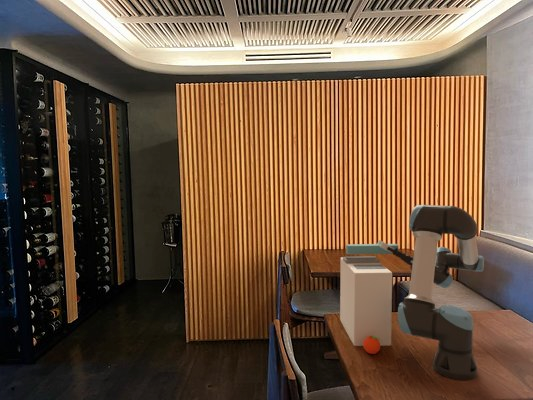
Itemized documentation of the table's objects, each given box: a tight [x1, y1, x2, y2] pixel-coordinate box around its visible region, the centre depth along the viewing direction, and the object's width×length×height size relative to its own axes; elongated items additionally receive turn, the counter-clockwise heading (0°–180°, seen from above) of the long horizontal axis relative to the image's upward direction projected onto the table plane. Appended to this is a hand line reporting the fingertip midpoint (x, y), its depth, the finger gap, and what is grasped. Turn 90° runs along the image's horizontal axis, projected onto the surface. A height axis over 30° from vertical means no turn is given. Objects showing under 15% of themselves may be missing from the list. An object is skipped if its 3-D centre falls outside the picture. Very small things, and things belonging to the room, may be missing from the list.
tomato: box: [362, 336, 381, 355], centre depth 167 cm, size 8×7×7 cm
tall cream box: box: [339, 256, 393, 347], centre depth 188 cm, size 16×30×34 cm, turn 1°
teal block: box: [345, 243, 399, 255], centre depth 192 cm, size 24×4×4 cm, turn 91°
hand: (379, 243), depth 192 cm, fingers closed on teal block, 4 cm apart
